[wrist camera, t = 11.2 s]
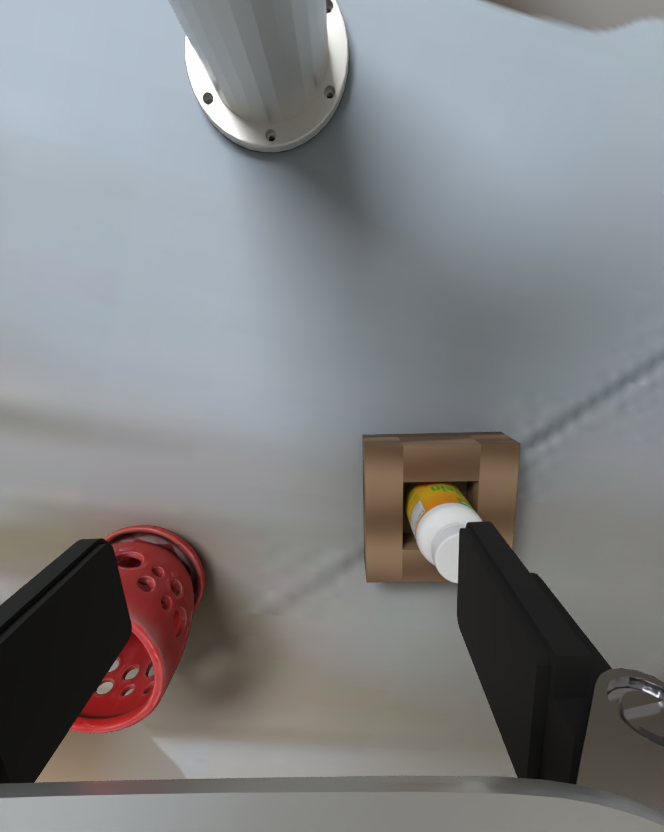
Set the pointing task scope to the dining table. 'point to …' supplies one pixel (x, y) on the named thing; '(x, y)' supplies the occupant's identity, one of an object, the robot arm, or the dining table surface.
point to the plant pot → (147, 624)
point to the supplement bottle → (438, 522)
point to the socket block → (431, 462)
